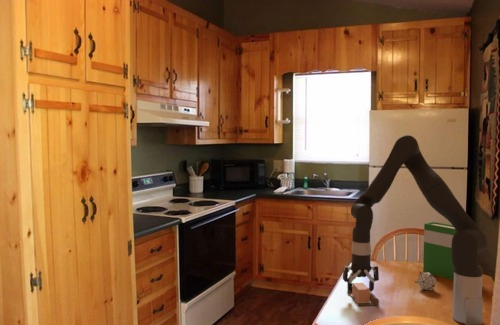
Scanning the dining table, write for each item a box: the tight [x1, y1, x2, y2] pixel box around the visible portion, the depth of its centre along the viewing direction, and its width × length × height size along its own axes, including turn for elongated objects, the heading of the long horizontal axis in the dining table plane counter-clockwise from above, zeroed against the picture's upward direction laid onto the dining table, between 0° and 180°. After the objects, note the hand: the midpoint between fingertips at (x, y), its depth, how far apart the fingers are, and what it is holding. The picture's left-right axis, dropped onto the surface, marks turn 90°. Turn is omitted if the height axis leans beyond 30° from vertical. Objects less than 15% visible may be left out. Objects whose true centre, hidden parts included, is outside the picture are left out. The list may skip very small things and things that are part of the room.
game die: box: [414, 271, 439, 292], centre depth 185 cm, size 9×8×10 cm
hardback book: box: [422, 221, 457, 281], centre depth 204 cm, size 18×7×24 cm, turn 36°
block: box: [352, 282, 370, 302], centre depth 175 cm, size 4×8×5 cm, turn 5°
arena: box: [346, 287, 380, 307], centre depth 176 cm, size 15×8×2 cm, turn 4°
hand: (360, 291), depth 175 cm, fingers open, 8 cm apart
